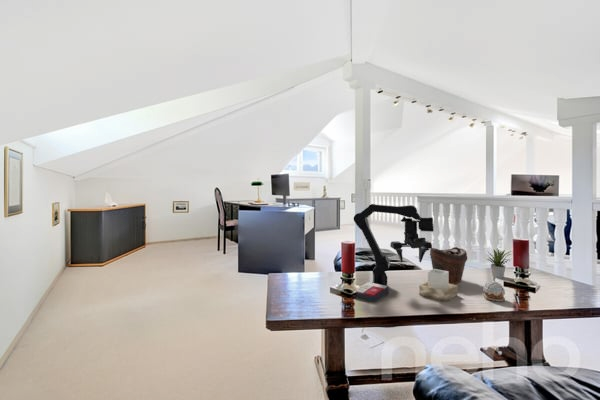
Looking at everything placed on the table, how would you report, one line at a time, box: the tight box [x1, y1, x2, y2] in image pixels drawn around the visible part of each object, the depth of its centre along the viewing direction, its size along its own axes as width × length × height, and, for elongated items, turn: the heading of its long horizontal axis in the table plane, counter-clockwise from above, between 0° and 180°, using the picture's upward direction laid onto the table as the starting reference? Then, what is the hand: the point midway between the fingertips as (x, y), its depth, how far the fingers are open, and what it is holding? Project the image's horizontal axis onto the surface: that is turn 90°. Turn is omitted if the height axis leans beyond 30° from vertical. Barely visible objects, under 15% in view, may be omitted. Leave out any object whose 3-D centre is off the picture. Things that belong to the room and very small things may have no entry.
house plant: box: [486, 247, 514, 279], centre depth 168 cm, size 14×14×16 cm
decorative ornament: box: [483, 265, 506, 302], centre depth 135 cm, size 8×8×15 cm
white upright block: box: [427, 268, 450, 291], centre depth 141 cm, size 6×6×10 cm
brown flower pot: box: [429, 246, 468, 284], centre depth 164 cm, size 18×20×18 cm
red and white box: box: [352, 281, 390, 303], centre depth 142 cm, size 11×4×15 cm
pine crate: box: [418, 281, 458, 302], centre depth 141 cm, size 12×12×4 cm
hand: (410, 262), depth 150 cm, fingers open, 9 cm apart
